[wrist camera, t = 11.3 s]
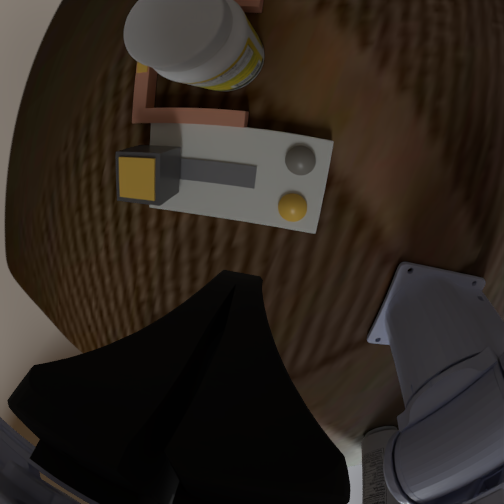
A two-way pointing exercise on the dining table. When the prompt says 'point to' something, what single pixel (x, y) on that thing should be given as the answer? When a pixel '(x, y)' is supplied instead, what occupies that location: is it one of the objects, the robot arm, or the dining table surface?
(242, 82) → the supplement bottle
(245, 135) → the panel
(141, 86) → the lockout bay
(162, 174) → the block
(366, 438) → the energy drink can
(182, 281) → the dining table surface
